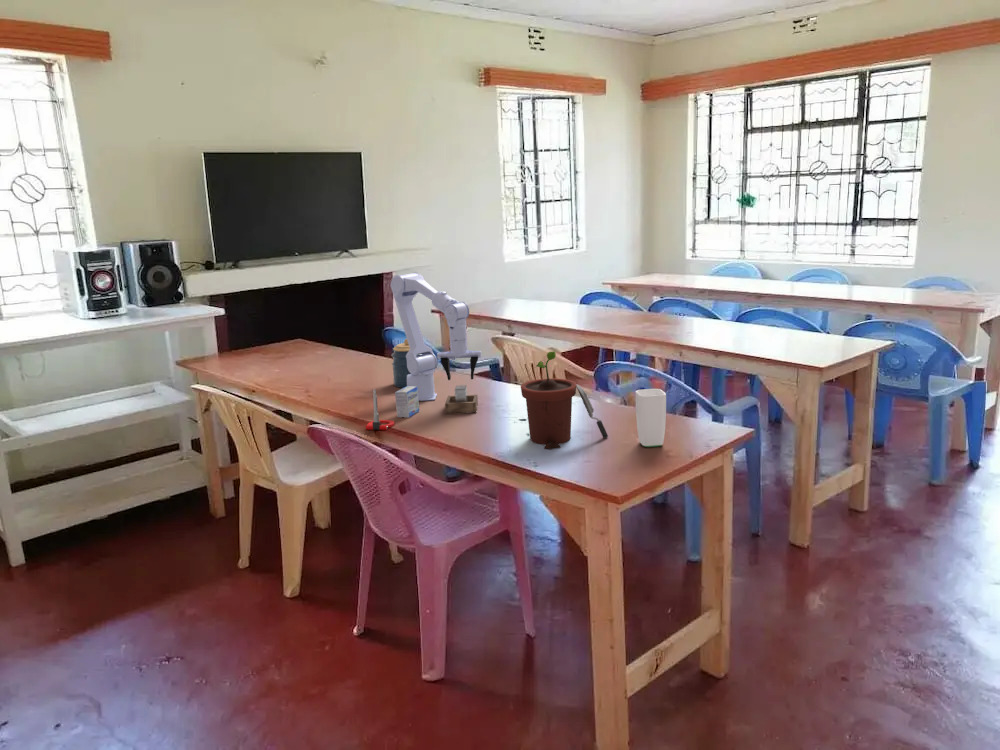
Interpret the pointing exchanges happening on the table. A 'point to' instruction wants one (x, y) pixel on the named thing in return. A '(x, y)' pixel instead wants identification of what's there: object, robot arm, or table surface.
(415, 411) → the medicine box
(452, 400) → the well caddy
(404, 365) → the canister
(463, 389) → the grey two-tone block
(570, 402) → the potted plant
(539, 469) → the table surface
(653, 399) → the cup
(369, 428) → the tow hook
